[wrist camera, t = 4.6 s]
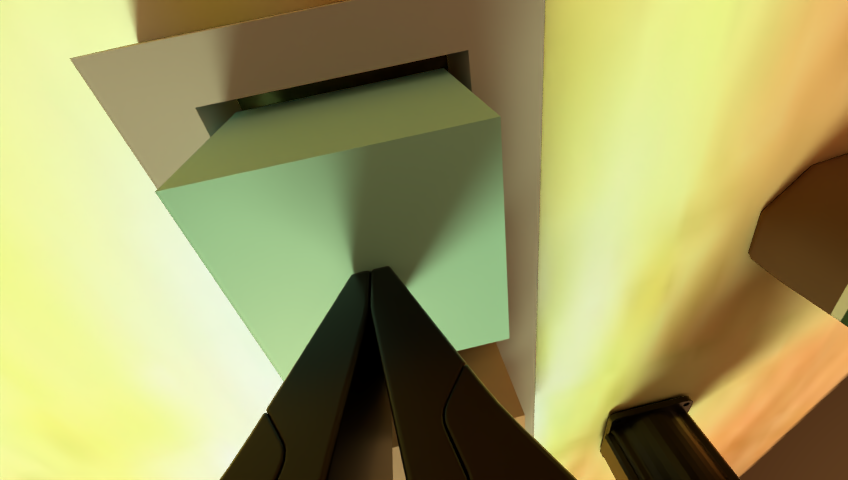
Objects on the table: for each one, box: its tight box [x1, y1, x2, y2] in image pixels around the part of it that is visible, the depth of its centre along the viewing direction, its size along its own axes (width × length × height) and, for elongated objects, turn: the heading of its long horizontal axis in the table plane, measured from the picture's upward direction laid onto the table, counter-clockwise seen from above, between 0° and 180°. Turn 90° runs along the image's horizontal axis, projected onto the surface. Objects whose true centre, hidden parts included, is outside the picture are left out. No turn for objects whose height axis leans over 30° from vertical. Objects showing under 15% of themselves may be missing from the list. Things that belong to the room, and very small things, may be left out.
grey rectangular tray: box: [70, 0, 545, 437], centre depth 17 cm, size 11×26×3 cm, turn 9°
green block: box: [155, 68, 509, 381], centre depth 10 cm, size 6×6×5 cm
